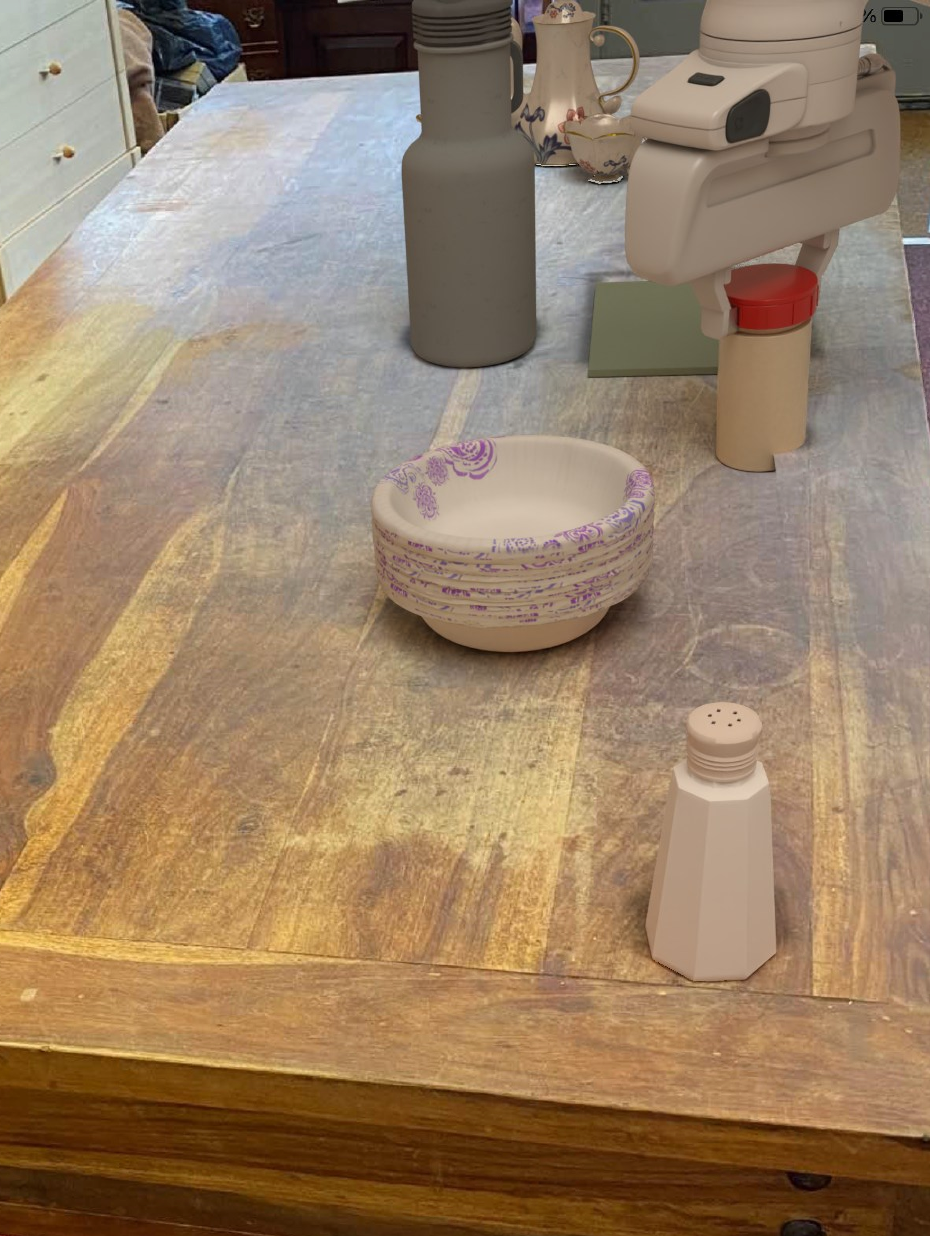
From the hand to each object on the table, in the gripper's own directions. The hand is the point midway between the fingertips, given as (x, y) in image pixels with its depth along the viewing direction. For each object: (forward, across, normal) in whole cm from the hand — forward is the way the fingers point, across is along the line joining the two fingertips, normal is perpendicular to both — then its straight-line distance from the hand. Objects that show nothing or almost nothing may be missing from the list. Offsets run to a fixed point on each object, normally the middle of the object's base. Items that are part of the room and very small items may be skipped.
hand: (760, 319), depth 100 cm
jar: (+9, -1, 0) cm, 9 cm away
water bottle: (+9, -1, -30) cm, 31 cm away
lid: (-2, 0, 0) cm, 2 cm away
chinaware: (+9, -42, -66) cm, 78 cm away
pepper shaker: (+9, +38, +32) cm, 50 cm away
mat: (+9, -15, -20) cm, 27 cm away
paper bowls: (+9, +25, +5) cm, 27 cm away
